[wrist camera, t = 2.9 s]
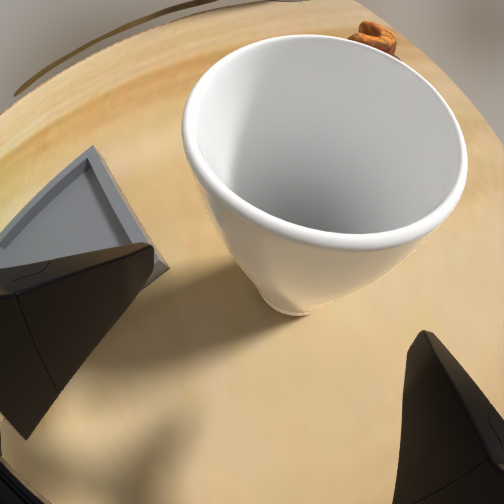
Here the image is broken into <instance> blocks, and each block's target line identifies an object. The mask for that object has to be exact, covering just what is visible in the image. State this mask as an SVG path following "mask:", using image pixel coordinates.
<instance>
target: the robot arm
mask: <svg viewBox="0 0 504 504" xmlns="http://www.w3.org/2000/svg"><path fill="white" fill-rule="evenodd" d="M153 270H154V247H153V246H152V245H151V244H148V243H145V242H139V243H133V244H128V245H122V246H117V247H112V248H106V249H101V250H96V251H91V252H86V253H81V254H76V255H71V256H66V257H61V258H56V259H53V260H46V261H41V262H36V263H31V264H25V265H19V266H13V267H6V268H0V423H1V421H2V420H3V419H5V420H6V421H7V422H8V423H9V424H10V425H11V426H12V427H13V428H14V429H15V430H16V431H17V432H18V433H19V434H20V435H21V436H22V437H23V438H24V439H25V440H27V439H28V438H29V437H30V435H31V434H32V432H33V431H34V429H35V428H36V426H37V425H38V424H39V422H40V421H41V419H42V418H43V416H44V415H45V414H46V412H47V411H48V409H49V408H50V407H51V405H52V404H53V403H54V401H55V400H56V398H57V397H58V396H59V394H60V393H61V391H62V390H63V389H64V387H65V386H66V385H67V383H68V382H69V381H70V379H71V378H72V377H73V376H74V374H75V373H76V372H77V370H78V369H79V368H80V366H81V365H82V364H83V363H84V361H85V360H86V359H87V358H88V356H89V355H90V354H91V352H92V351H93V350H94V349H95V347H96V346H97V345H98V344H99V342H100V341H101V340H102V339H103V337H104V336H105V335H106V334H107V333H108V331H109V330H110V329H111V328H112V326H113V325H114V324H115V323H116V322H117V320H118V319H119V318H120V317H121V316H122V314H123V313H124V312H125V311H126V310H127V308H128V307H129V306H130V305H131V303H132V302H133V300H134V299H135V297H136V296H137V294H138V293H139V292H140V290H141V289H142V287H143V286H144V284H145V283H146V281H147V280H148V278H149V277H150V276H151V274H152V272H153ZM0 504H51V503H50V502H49V501H48V500H46V499H45V498H44V497H43V496H42V495H41V494H39V493H38V492H37V491H36V490H35V489H34V488H33V487H32V486H30V485H29V484H28V483H27V482H26V481H25V480H24V479H23V478H22V477H21V476H20V475H19V474H18V473H17V472H16V471H15V470H14V469H13V468H12V467H11V466H10V465H9V464H8V463H7V462H6V461H5V460H4V459H3V458H2V452H1V434H0ZM392 504H504V420H503V419H502V417H501V416H500V415H499V413H498V412H497V411H496V409H495V408H494V407H493V405H492V404H491V403H490V401H489V400H488V399H487V397H486V396H485V395H484V394H483V392H482V391H481V390H480V388H479V387H478V386H477V385H476V383H475V382H474V381H473V380H472V378H471V377H470V376H469V375H468V373H467V372H466V371H465V370H464V368H463V367H462V366H461V365H460V364H459V362H458V361H457V360H456V359H455V358H454V356H453V355H452V354H451V353H450V352H449V351H448V349H447V348H446V347H445V346H444V345H443V344H442V342H441V341H440V340H439V339H438V338H437V337H436V336H435V334H434V333H432V332H429V331H425V330H422V331H420V332H419V334H418V335H417V337H416V338H415V340H414V342H413V343H412V345H411V346H410V348H409V350H408V352H407V360H406V370H405V380H404V388H403V402H402V425H401V440H400V451H399V461H398V469H397V477H396V484H395V491H394V497H393V502H392Z"/></svg>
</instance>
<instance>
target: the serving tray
mask: <svg viewBox="0 0 504 504" xmlns="http://www.w3.org/2000/svg"><path fill="white" fill-rule="evenodd" d="M139 242H145V243H148V244H151V245H152V246H153V247H154V270H153V272H152V274H151V276H150V277H149V278H148V280H147V281H146V283H145V284H144V286H143V287H142V289H144V288H145V287H146V286H148V285H149V284H150V283H151V282H153V281H154V280H155V279H157V278H158V277H159V276H160V275H162V274H163V273H164V272H166V271H167V270H168V269H169V267H168V265H167V264H166V262H165V261H164V259H163V257H162V256H161V254H160V253H159V251H158V250H157V248H156V247H155V245H154V243H153V242H152V240H151V239H150V237H149V236H148V234H147V232H146V231H145V229H144V228H143V226H142V224H141V223H140V221H139V219H138V218H137V216H136V214H135V213H134V211H133V209H132V208H131V206H130V204H129V203H128V201H127V199H126V198H125V196H124V194H123V193H122V191H121V189H120V187H119V186H118V184H117V182H116V180H115V179H114V177H113V175H112V173H111V171H110V170H109V168H108V166H107V164H106V162H105V161H104V159H103V157H102V156H101V154H100V153H99V152H98V151H97V149H96V148H95V147H94V146H93V145H92V146H91V147H90V148H89V149H87V150H86V151H85V152H84V153H82V154H81V155H80V156H79V157H78V158H76V159H75V160H74V161H73V162H72V163H70V164H69V165H68V166H67V167H66V168H65V169H64V170H62V171H61V172H60V173H59V174H58V175H57V176H56V177H55V178H53V179H52V180H51V181H50V182H49V183H48V184H47V185H46V186H45V187H44V188H43V189H42V190H41V191H40V192H39V193H38V194H37V195H36V196H35V197H34V198H33V199H32V200H31V201H30V202H29V203H28V204H27V205H26V206H25V207H24V208H23V209H22V210H21V211H20V212H19V213H18V214H17V215H16V216H15V217H14V218H13V220H12V221H11V222H10V223H9V224H8V225H7V226H6V227H5V228H4V230H3V231H2V232H1V233H0V268H6V267H13V266H19V265H25V264H31V263H36V262H41V261H46V260H53V259H56V258H61V257H66V256H71V255H76V254H81V253H86V252H91V251H96V250H101V249H106V248H112V247H117V246H122V245H128V244H133V243H139ZM142 289H141V290H142ZM141 290H140V291H141Z"/></svg>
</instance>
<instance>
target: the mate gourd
mask: <svg viewBox="0 0 504 504" xmlns="http://www.w3.org/2000/svg"><path fill="white" fill-rule="evenodd" d="M272 1H285V2H297V1H308V0H272Z"/></svg>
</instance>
